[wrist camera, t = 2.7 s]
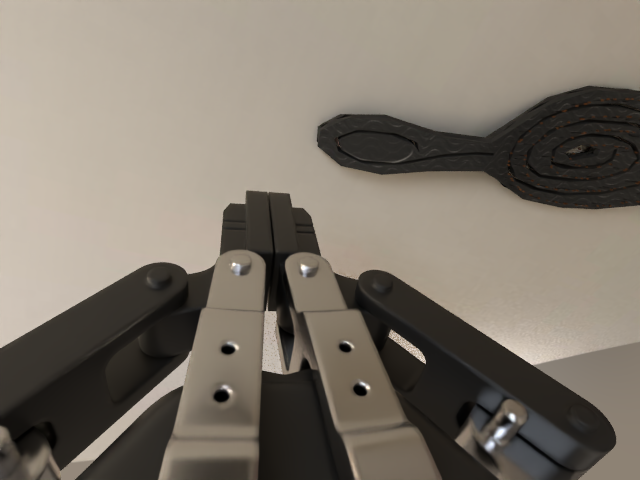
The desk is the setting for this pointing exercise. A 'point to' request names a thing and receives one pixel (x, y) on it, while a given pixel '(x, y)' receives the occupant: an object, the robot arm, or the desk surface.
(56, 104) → the desk surface
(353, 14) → the desk surface
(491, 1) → the desk surface
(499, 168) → the hairbrush
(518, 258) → the desk surface
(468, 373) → the robot arm
